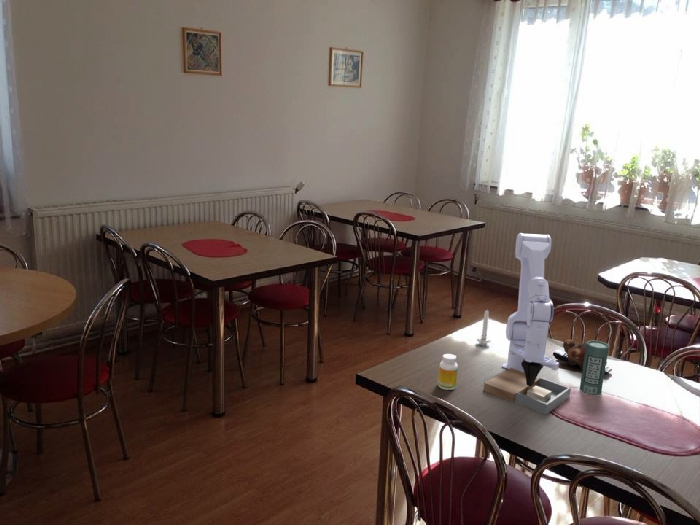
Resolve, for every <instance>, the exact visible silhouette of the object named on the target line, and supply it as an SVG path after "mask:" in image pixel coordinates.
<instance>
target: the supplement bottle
mask: <svg viewBox="0 0 700 525" xmlns="http://www.w3.org/2000/svg"><path fill="white" fill-rule="evenodd" d="M438 367H439V369H438V379H437V386H438V387H439V388H440V389H442V390H445V391H448V390H450V391H451V390H455V389H456V387H457V380H458V370H459V365H458V363H457V355H455V354H452V353H445V354H443V355H442V360H441V362H440V363H439V366H438Z"/></svg>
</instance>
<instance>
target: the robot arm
mask: <svg viewBox="0 0 700 525" xmlns="http://www.w3.org/2000/svg"><path fill="white" fill-rule="evenodd" d="M551 250H552V237H551V236H550V234H534V233H522V232H519V233H518V234H517V235H516V240H515V249H514V255H515V258H516V259H517V260H519V261H520V272H519V273H520V277H519V286H518V300H517V311H515V312H514V313H512V314H510V315H509V316H508V317H507V323H506V328H505V329H506V330H505V334H506V335H505V336H506V337H505V338H506V339H507V341H509V346H508V353H507V362H505V363H504V364H502V365H501V367H502V368H504V369H506V370H508V369H510V368H514V369H516V370H519V371H522V372H524V373H525V377H526V384H527V385H528V386H532V385H534V382H535V380H536V377H538V375H539V373H540V372H541V371H542V369H543V368H544V367H546V368H550V369H551V370H552V371H557V370H559V366H560V362H558V361H556V360H553V359H551V358H550V357H548V356H546V349H547V342H548V339H547V338H548V335H549V334H548V333H549V327H550V323H551V322H552V321H553V317H554V304H553V301H552V299H551V298H550V289H549V288H550V287H549V286H550V285H549V282H548V280H547V279H545V259H547V258H548V257H549V254H550V253H551Z"/></svg>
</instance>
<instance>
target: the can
mask: <svg viewBox="0 0 700 525" xmlns="http://www.w3.org/2000/svg"><path fill="white" fill-rule="evenodd" d="M586 344H587V345H586V352H585V358H584V364H583V370H582V369H581V370H582V372H581V379H580V382H579V383H580V385H579V390H580V392H581V393H583V392H584V393H583V394H586V393H587V395H590V396H598V395H599V396H600V395H601V394H602V390H603V383H604V379H605V373H606V372H605V371H606V367H607V364H606V361H607V360H608V359H607V358H608V355H609V350H610V349H609V348H610V344H608V343H607V342H603V341H600V340H594V339H593V340H587V341H586Z"/></svg>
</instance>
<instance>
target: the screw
mask: <svg viewBox="0 0 700 525" xmlns="http://www.w3.org/2000/svg"><path fill="white" fill-rule="evenodd" d="M489 313H490V312H489V310H488V309H486V310H485V311H484V316H483V320H482V329H481V331H482V332H481V335H480V336H478V337H476V341H477V342H478V345H479V346H480V347H487V346H488V343H491V342H492V341H491V338H490V337H488V336H487V335H488V329H489V320H490V319H489V318H490V317H489Z"/></svg>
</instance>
